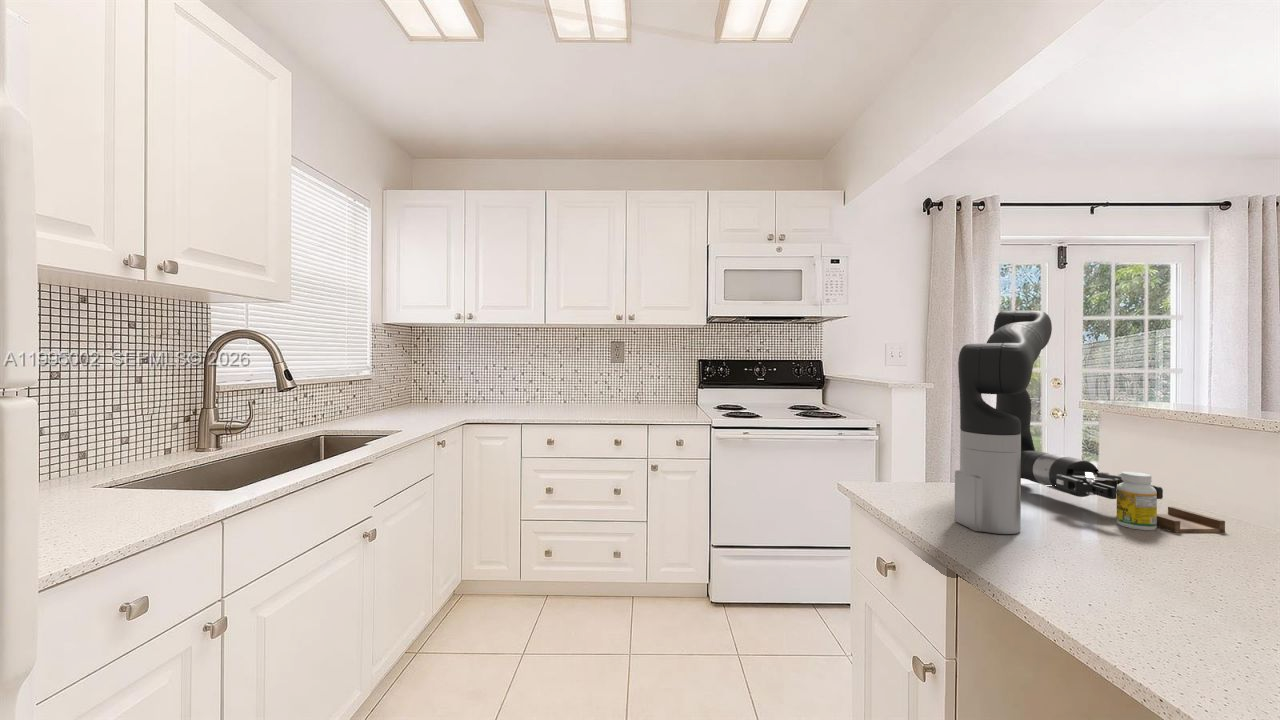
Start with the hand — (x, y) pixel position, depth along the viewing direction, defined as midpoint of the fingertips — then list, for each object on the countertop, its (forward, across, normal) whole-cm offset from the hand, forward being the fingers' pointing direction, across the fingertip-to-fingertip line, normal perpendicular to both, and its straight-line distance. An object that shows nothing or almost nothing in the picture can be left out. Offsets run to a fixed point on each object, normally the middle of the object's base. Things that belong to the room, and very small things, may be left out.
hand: (1137, 493), depth 96 cm
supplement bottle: (0, 0, +6) cm, 6 cm away
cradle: (-1, +8, +6) cm, 10 cm away
